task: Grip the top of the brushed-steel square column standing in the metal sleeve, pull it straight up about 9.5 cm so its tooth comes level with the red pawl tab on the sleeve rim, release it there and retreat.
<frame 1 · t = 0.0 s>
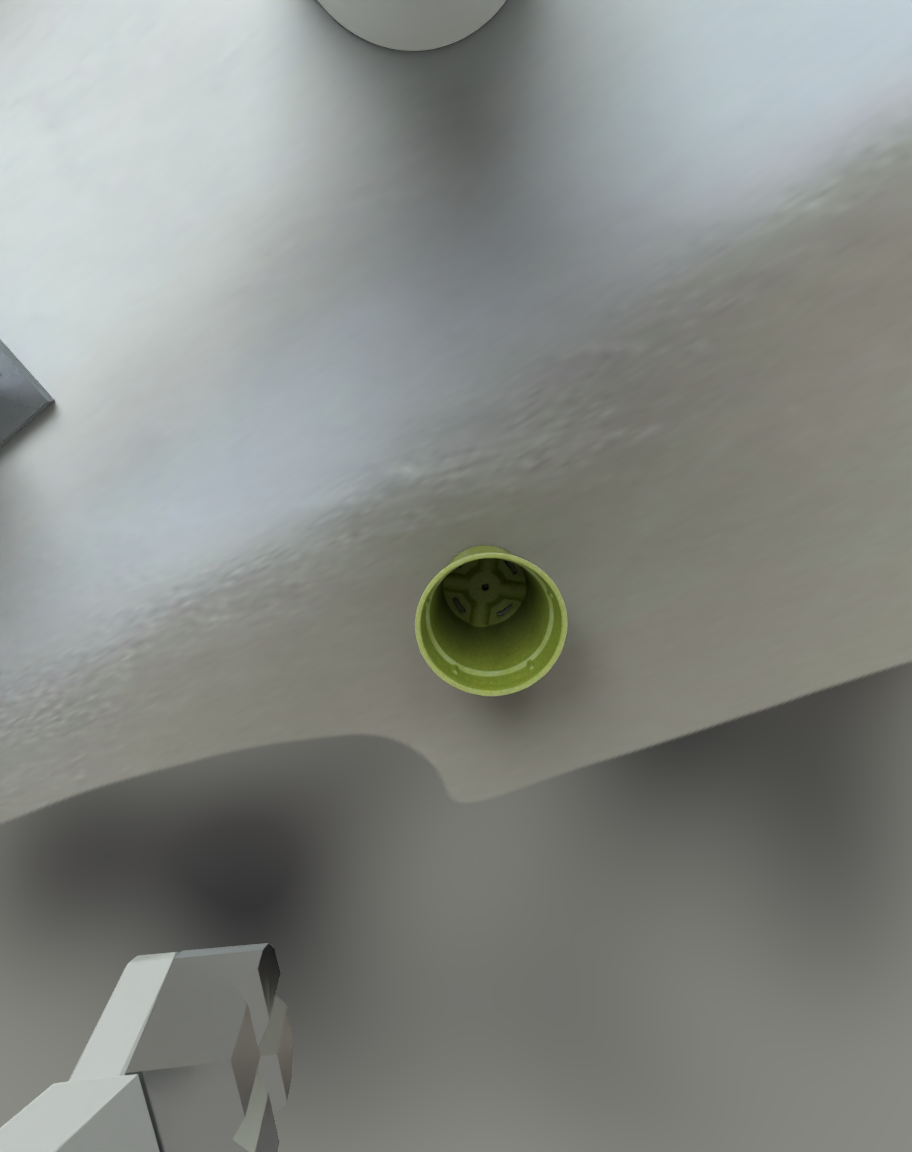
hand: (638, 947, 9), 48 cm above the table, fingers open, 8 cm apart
plant pot 2: (483, 585, 58), on the table
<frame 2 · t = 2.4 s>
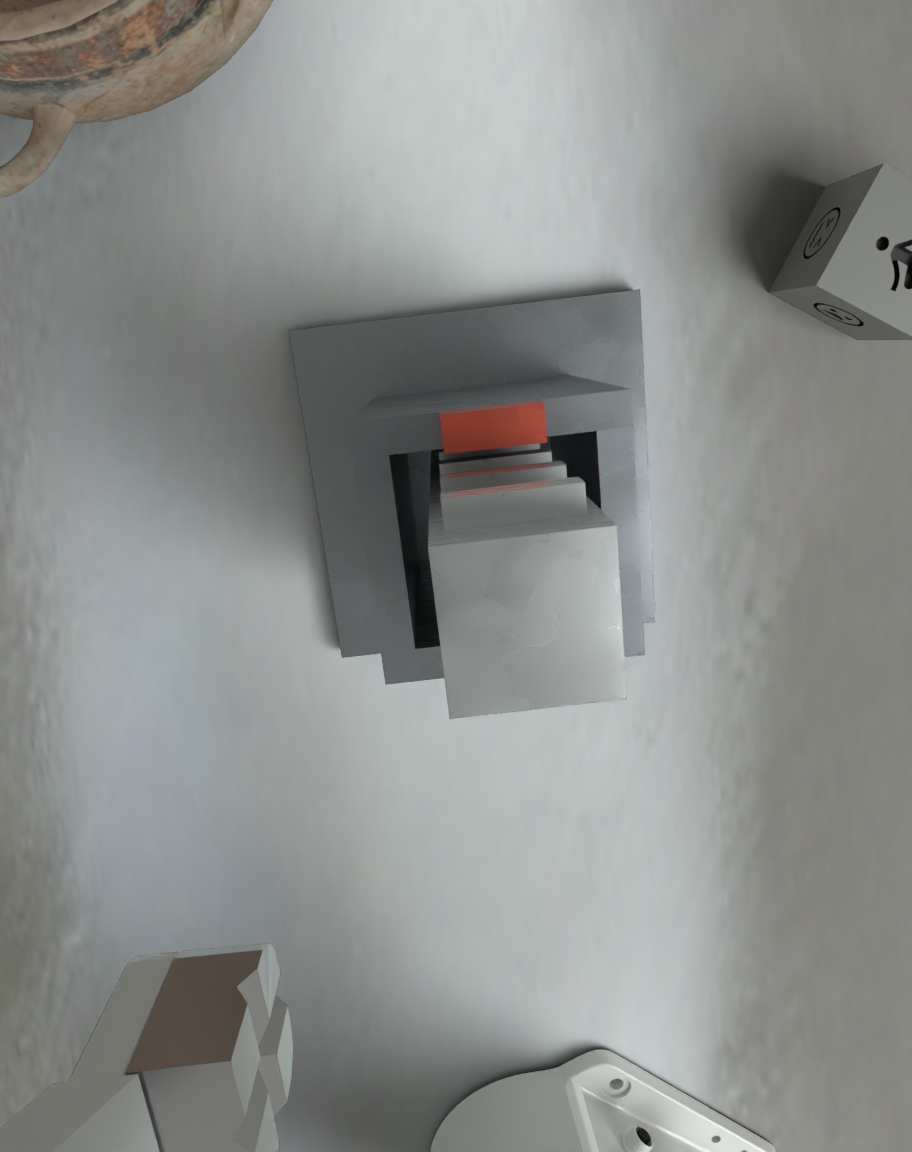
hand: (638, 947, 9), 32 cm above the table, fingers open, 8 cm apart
sleeve: (481, 480, 40), on the table
column: (497, 521, 29), point 11 cm above the table, slide at 0.0 cm
dice cube: (839, 265, 38), on the table
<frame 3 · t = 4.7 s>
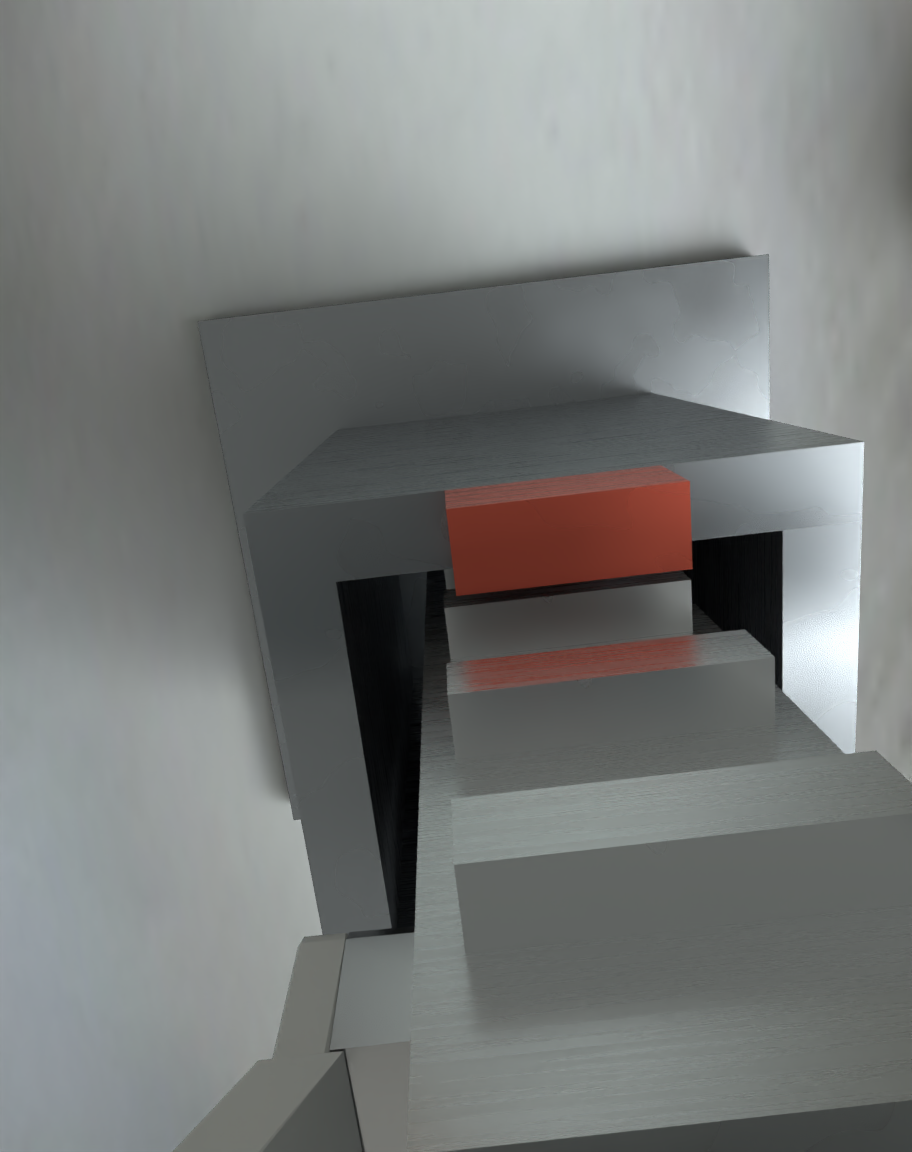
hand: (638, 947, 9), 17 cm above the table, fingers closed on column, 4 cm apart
sleeve: (506, 555, 26), on the table
column: (556, 688, 15), point 11 cm above the table, slide at 0.0 cm, touching gripper
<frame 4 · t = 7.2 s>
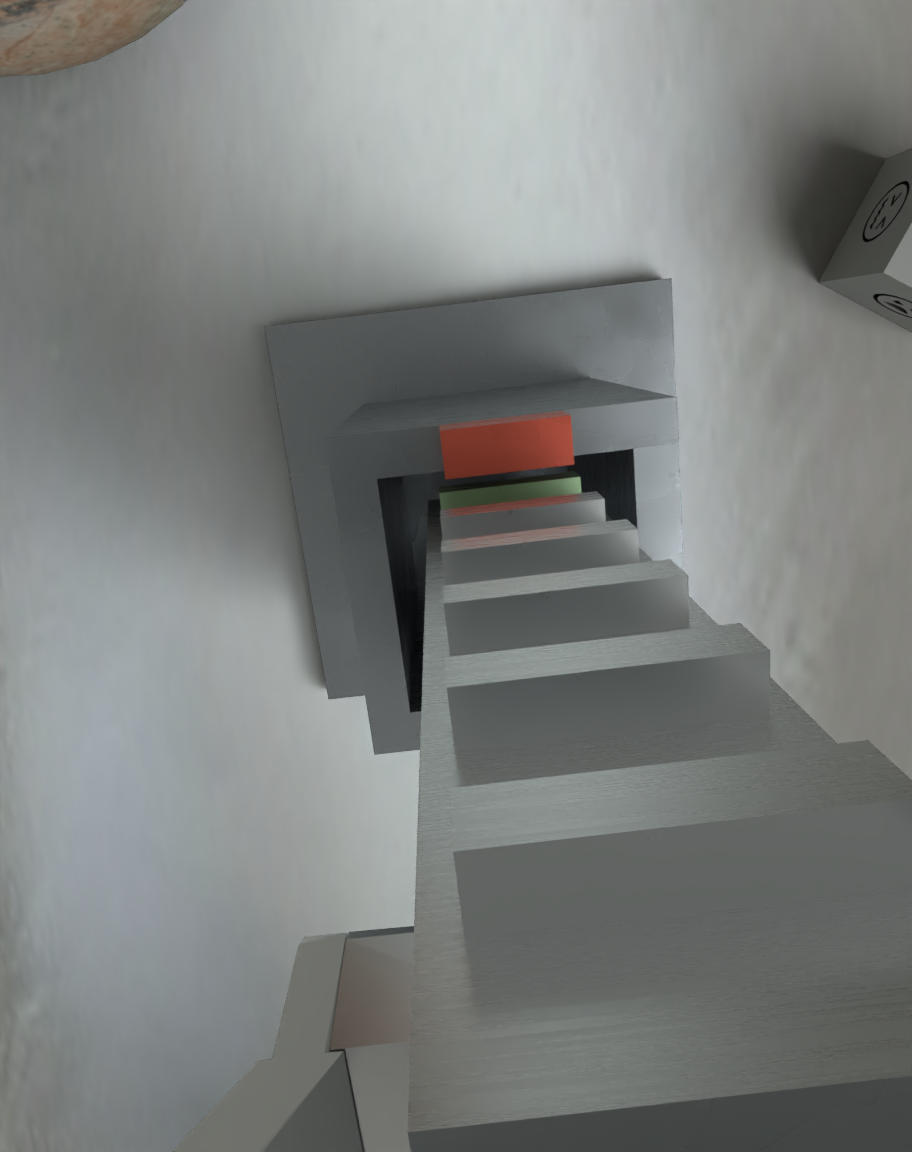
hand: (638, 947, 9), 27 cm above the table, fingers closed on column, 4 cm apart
sleeve: (486, 498, 35), on the table
column: (555, 683, 15), point 21 cm above the table, slide at 9.3 cm, touching gripper
dice cube: (900, 251, 33), on the table
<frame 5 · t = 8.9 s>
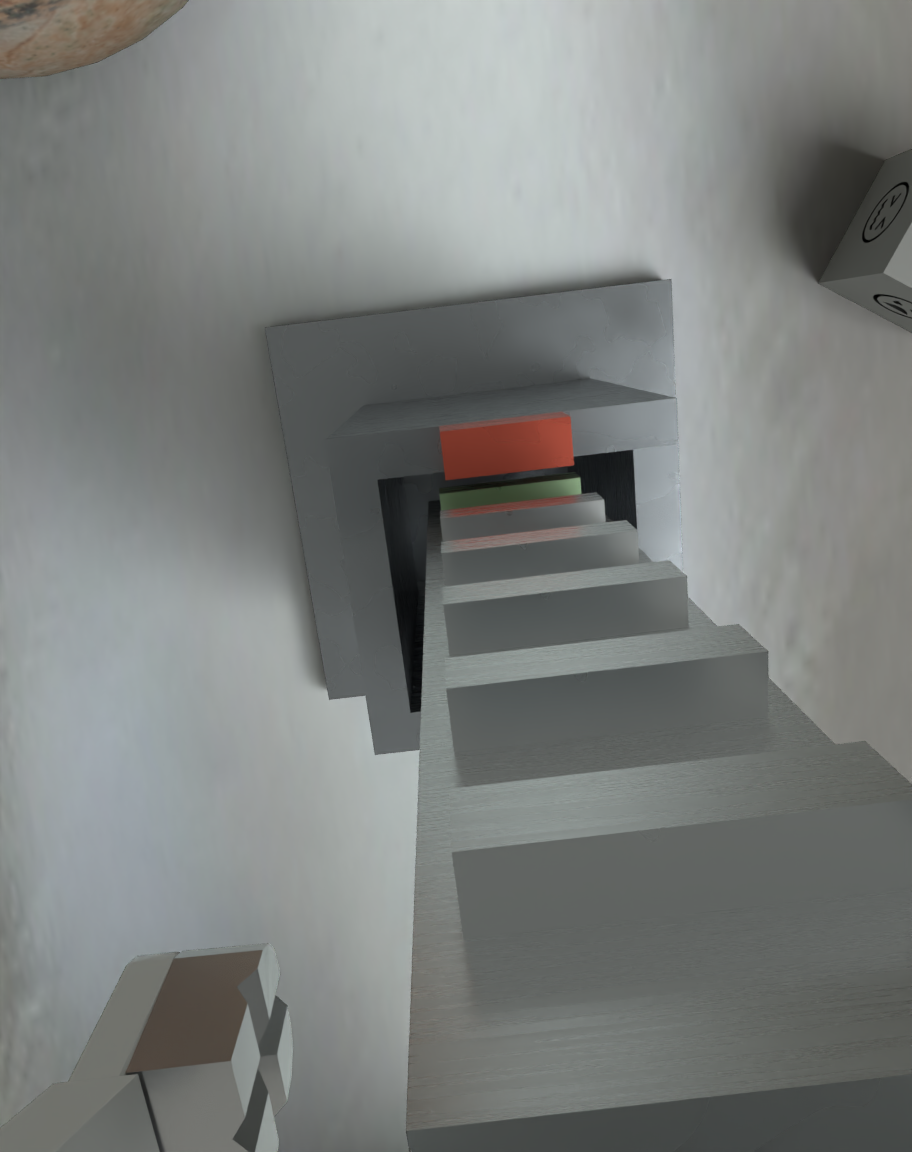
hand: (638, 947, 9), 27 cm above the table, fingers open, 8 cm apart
sleeve: (487, 499, 35), on the table
column: (554, 684, 15), point 21 cm above the table, slide at 9.3 cm
dice cube: (899, 251, 33), on the table
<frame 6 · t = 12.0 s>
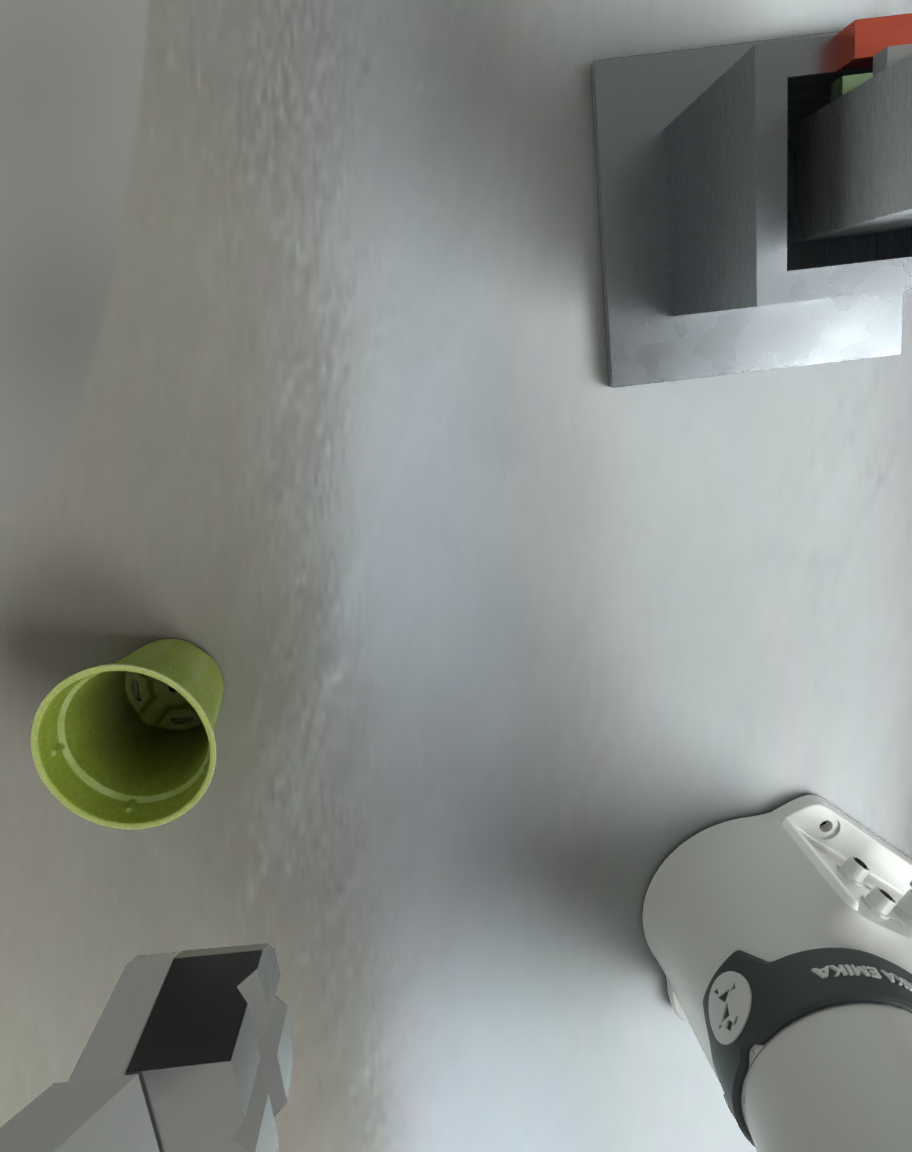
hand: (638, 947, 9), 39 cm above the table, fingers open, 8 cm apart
sleeve: (748, 217, 43), on the table
plant pot 2: (176, 681, 50), on the table
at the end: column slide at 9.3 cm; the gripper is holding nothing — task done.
